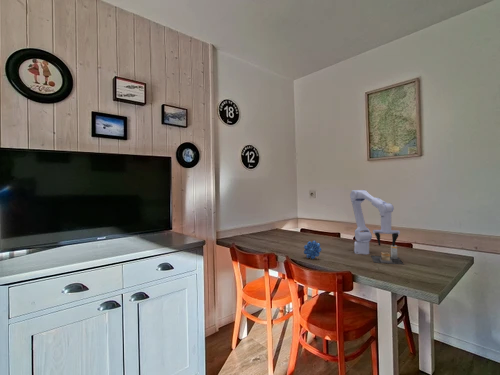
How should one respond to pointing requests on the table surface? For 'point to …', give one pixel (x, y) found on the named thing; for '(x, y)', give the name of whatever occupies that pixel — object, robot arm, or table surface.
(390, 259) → the base board
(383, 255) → the taped cardboard box
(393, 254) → the post
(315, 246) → the grapes
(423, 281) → the table surface
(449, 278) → the table surface
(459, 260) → the table surface
